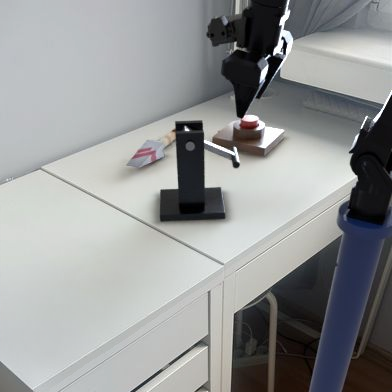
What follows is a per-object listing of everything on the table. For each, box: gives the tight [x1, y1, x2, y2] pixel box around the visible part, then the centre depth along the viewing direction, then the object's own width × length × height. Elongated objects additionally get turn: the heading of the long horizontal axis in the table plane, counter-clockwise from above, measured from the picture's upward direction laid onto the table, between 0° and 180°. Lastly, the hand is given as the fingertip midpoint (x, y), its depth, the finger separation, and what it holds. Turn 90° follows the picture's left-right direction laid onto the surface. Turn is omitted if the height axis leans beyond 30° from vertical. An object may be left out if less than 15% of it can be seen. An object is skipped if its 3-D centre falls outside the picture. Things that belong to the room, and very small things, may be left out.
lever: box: [182, 125, 241, 169], centre depth 81 cm, size 10×6×2 cm, turn 92°
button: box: [240, 114, 259, 129], centre depth 104 cm, size 4×4×2 cm
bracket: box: [159, 119, 226, 222], centre depth 83 cm, size 11×9×14 cm
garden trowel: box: [125, 127, 176, 169], centre depth 103 cm, size 4×3×20 cm
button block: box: [211, 119, 285, 157], centre depth 106 cm, size 12×10×4 cm
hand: (248, 107), depth 86 cm, fingers open, 9 cm apart
